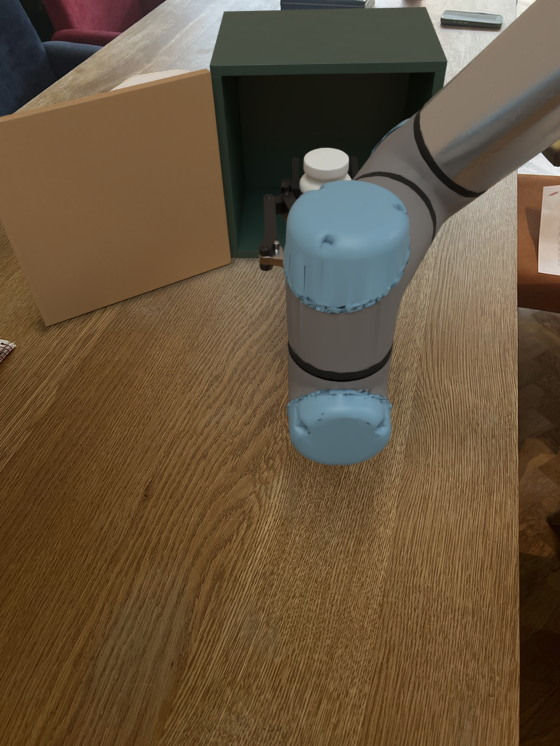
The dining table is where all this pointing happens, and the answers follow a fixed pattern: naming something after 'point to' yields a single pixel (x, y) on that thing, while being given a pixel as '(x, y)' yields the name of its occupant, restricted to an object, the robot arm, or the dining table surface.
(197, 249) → the cupboard door
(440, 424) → the dining table surface
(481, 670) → the dining table surface
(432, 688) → the dining table surface
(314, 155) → the pill bottle
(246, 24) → the cupboard
